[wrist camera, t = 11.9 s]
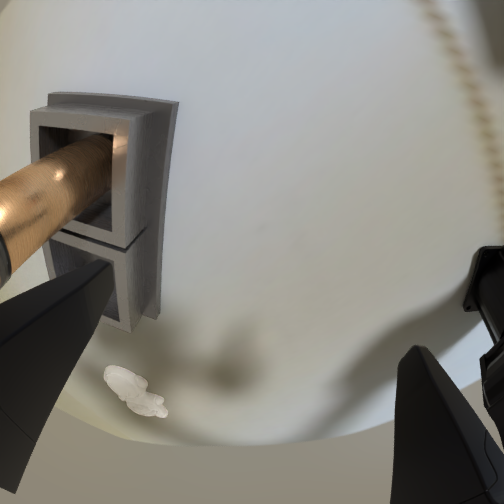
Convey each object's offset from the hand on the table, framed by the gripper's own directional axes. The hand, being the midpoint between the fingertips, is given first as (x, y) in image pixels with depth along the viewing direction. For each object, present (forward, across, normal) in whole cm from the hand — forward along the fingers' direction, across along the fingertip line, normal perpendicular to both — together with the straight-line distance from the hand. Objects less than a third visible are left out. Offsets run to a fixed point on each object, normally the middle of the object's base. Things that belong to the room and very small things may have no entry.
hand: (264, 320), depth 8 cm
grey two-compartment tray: (+13, +14, +7) cm, 20 cm away
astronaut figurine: (+14, +12, +36) cm, 40 cm away
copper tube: (+12, +14, +2) cm, 18 cm away
